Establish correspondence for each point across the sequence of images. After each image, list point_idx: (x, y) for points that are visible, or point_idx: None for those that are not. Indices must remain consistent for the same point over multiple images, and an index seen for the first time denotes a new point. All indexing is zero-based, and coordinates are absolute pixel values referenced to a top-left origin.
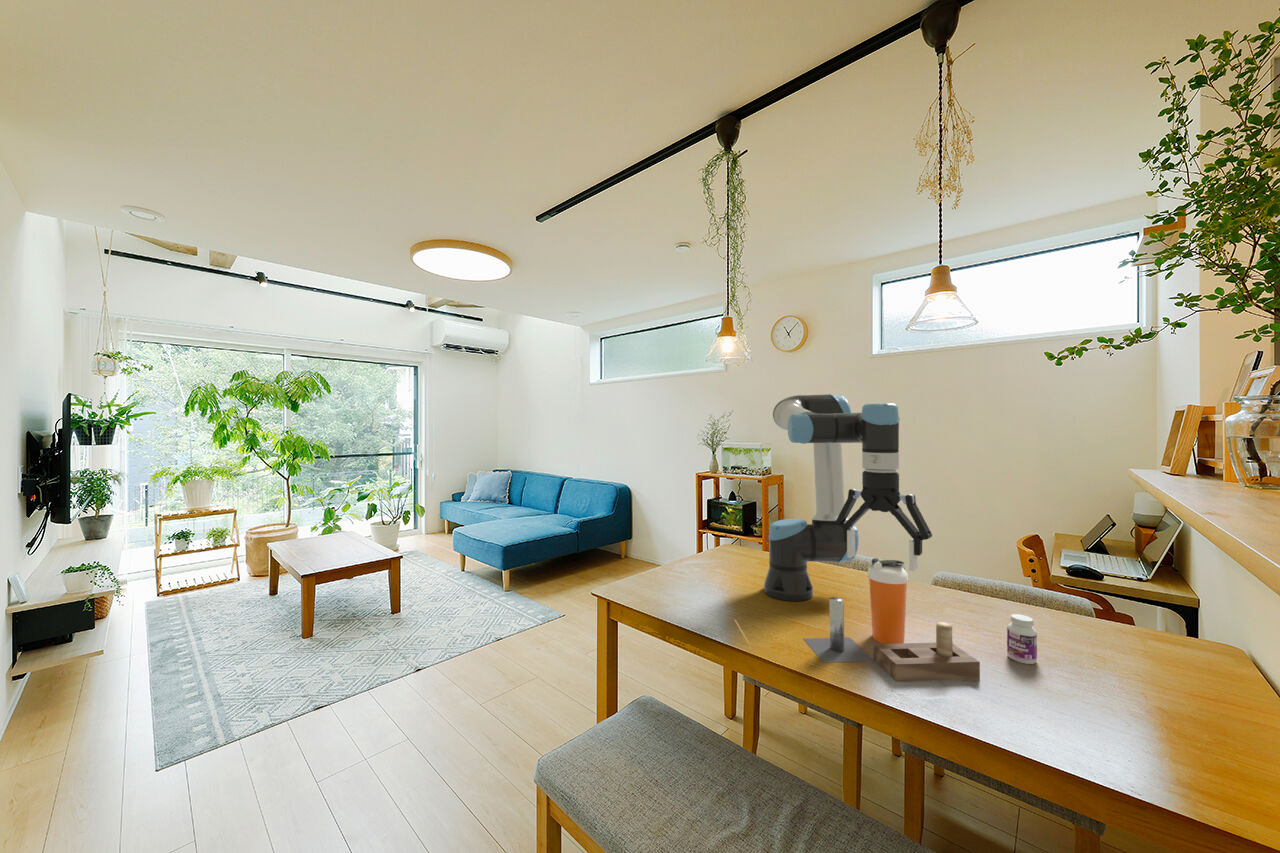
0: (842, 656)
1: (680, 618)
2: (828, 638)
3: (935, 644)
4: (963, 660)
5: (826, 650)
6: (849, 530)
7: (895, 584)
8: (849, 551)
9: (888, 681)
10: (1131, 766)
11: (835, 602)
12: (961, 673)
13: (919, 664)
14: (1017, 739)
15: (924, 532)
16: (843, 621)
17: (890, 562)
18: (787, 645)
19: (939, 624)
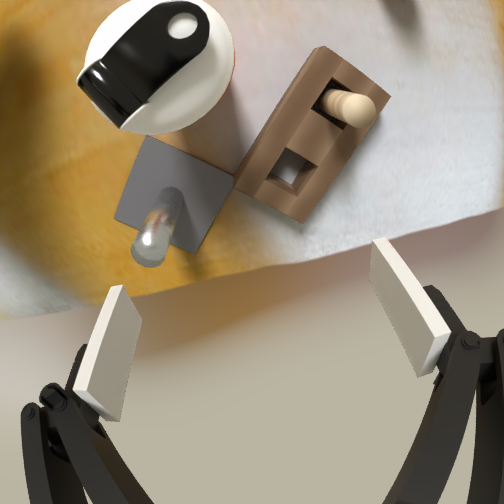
0: (195, 213)
1: (18, 307)
2: (131, 177)
3: (311, 81)
4: None
5: None
6: (114, 420)
7: (219, 99)
8: (133, 339)
9: None
10: (492, 174)
11: (158, 265)
12: None
13: (327, 188)
14: (430, 210)
15: (492, 393)
16: (173, 223)
17: (157, 59)
18: (121, 251)
19: (352, 116)
